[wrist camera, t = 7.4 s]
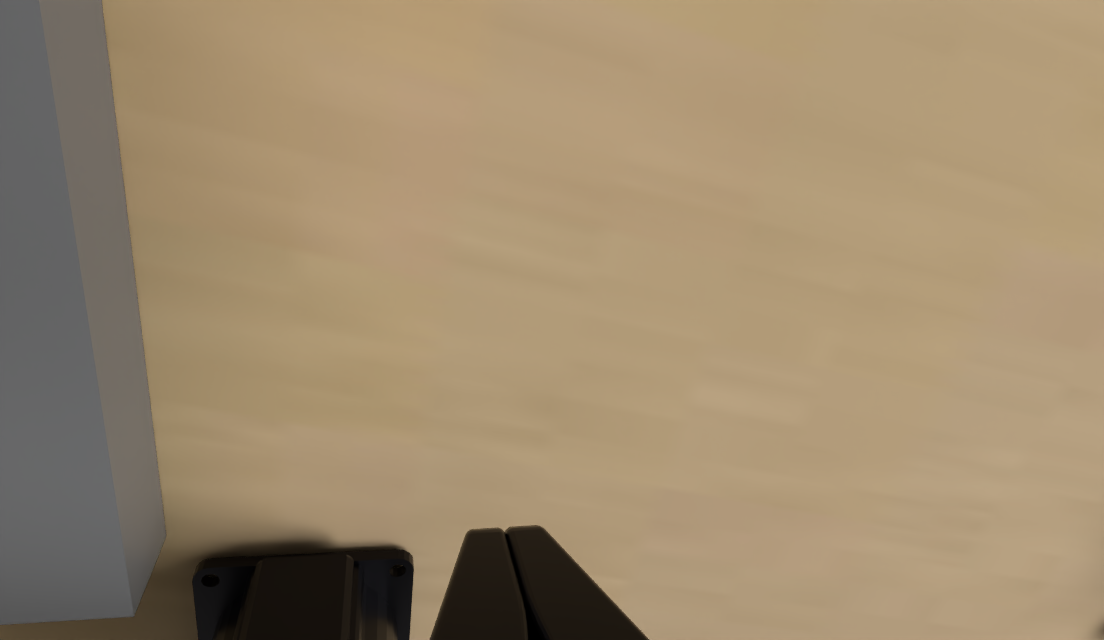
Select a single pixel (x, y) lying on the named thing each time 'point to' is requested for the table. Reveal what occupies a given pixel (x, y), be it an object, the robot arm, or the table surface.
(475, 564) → the robot arm
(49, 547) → the keypad
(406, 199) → the table surface
